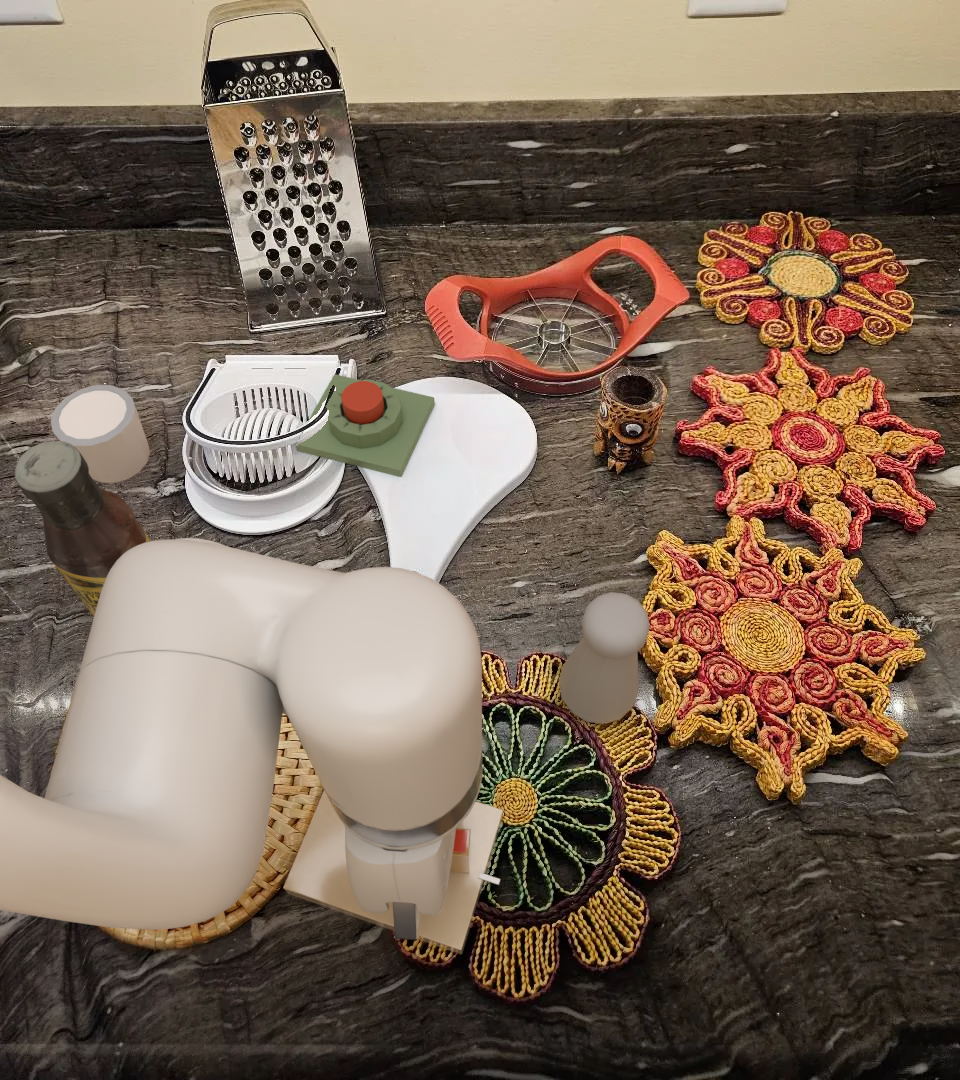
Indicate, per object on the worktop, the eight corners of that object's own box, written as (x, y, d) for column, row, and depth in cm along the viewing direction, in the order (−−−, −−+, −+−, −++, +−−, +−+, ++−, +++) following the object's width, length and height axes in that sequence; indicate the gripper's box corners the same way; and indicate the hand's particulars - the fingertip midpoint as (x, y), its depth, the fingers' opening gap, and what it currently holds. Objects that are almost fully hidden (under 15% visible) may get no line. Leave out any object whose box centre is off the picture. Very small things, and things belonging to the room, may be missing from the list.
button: (337, 419, 76) (334, 405, 74) (353, 390, 78) (350, 377, 76) (375, 428, 75) (373, 415, 74) (390, 399, 77) (388, 386, 76)
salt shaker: (553, 728, 64) (567, 650, 53) (559, 659, 67) (574, 572, 56) (632, 738, 63) (663, 662, 52) (635, 668, 66) (664, 582, 56)
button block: (299, 459, 78) (290, 430, 75) (337, 389, 83) (331, 359, 79) (402, 485, 76) (398, 457, 73) (435, 413, 81) (433, 383, 78)
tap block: (287, 906, 57) (278, 896, 54) (346, 763, 62) (340, 748, 60) (475, 973, 55) (475, 966, 52) (520, 818, 60) (521, 805, 57)
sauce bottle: (91, 615, 69) (-33, 459, 53) (157, 568, 72) (59, 405, 55) (136, 667, 67) (21, 521, 50) (202, 617, 69) (114, 461, 52)
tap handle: (376, 866, 55) (368, 848, 51) (380, 841, 56) (372, 821, 52) (469, 873, 55) (468, 855, 51) (471, 847, 56) (470, 827, 52)
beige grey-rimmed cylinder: (85, 442, 79) (53, 389, 73) (161, 432, 80) (135, 378, 74) (79, 501, 75) (46, 450, 70) (159, 490, 76) (132, 438, 70)
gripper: (349, 607, 45) (383, 736, 60) (290, 935, 36) (348, 987, 51) (493, 616, 44) (490, 743, 60) (468, 949, 36) (473, 998, 51)
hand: (424, 856), depth 55 cm, fingers closed on tap handle
